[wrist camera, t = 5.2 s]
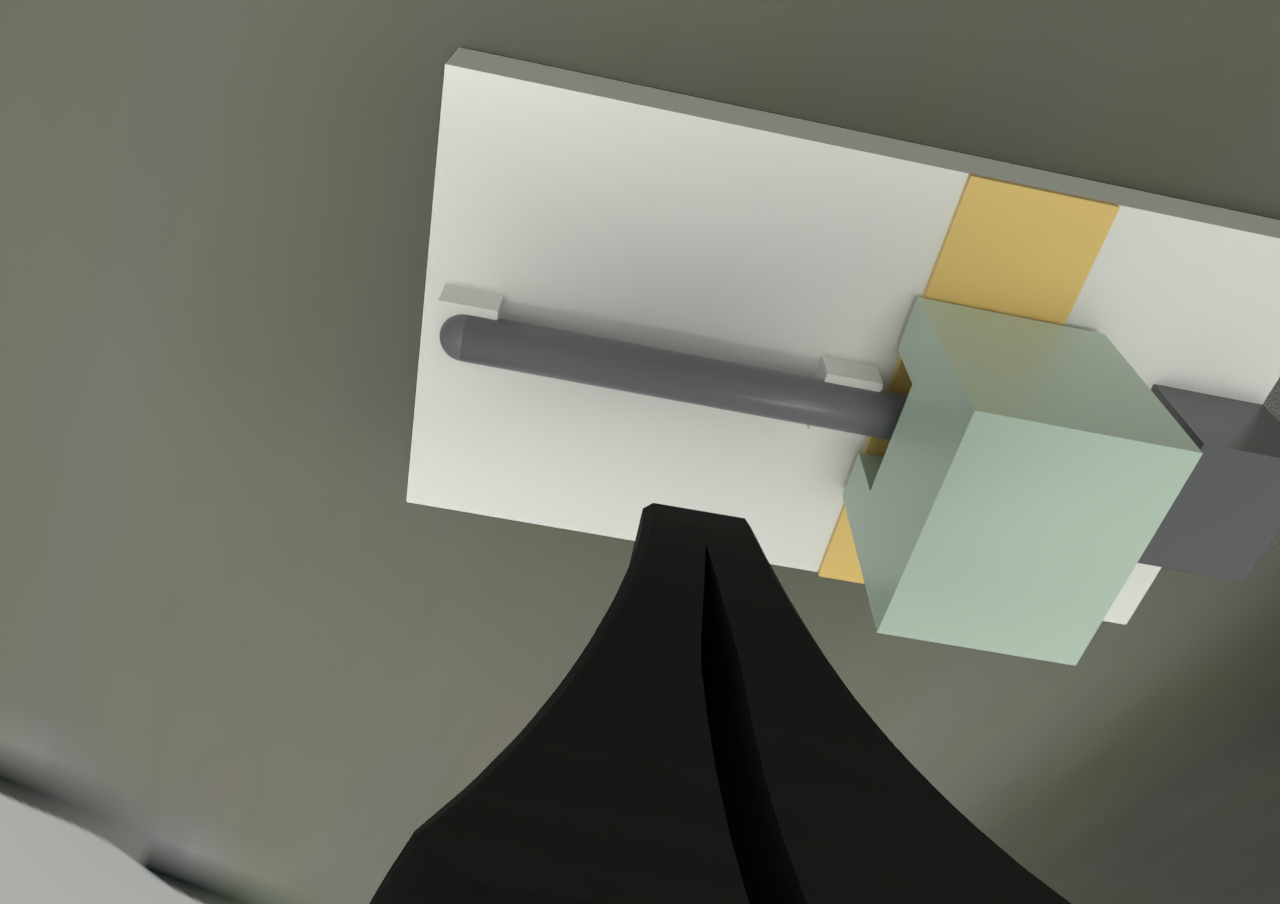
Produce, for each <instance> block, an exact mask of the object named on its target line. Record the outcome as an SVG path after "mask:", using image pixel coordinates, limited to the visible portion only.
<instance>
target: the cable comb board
mask: <svg viewBox="0 0 1280 904" xmlns="http://www.w3.org/2000/svg"><path fill="white" fill-rule="evenodd" d="M917 297H920V298H925V299H930V300H935V301H941V302H946V303H951V304H956V305H961V306H966V307H971V308H976V309H981V310H986V311H991V312H996V313H1001V314H1007V315H1012V316H1017V317H1022V318H1027V319H1032V320H1037V321H1042V322H1047V323H1052V324H1057V325H1062V326H1067V327H1072V328H1078V329H1083V330H1088V331H1093V332H1098V333H1103V334H1105V335H1106V336H1107V337H1108V339H1109V340H1110V341H1111V342H1112V343H1113V345H1114V346H1115V347H1116V348H1117V349H1118V351H1119V352H1120V353H1121V354H1122V356H1123V357H1124V358H1125V359H1126V360H1127V362H1128V363H1129V364H1130V365H1131V366H1132V368H1133V369H1134V370H1135V371H1136V373H1137V374H1138V375H1139V376H1140V377H1141V379H1142V380H1143V381H1144V382H1145V383H1146V385H1147V386H1148V387H1149V388H1150V390H1151V391H1152V392H1153V393H1154V394H1155V396H1156V397H1157V398H1158V399H1159V401H1160V402H1161V403H1162V404H1163V405H1164V407H1165V408H1166V409H1167V410H1168V411H1169V413H1170V414H1171V415H1172V416H1173V418H1174V419H1175V420H1176V421H1177V422H1178V424H1179V425H1180V426H1181V427H1182V428H1183V430H1184V431H1185V432H1186V433H1187V435H1188V436H1189V437H1190V438H1191V439H1192V441H1193V442H1194V443H1195V444H1196V445H1197V447H1198V448H1199V449H1200V450H1201V452H1202V453H1203V454H1202V456H1201V458H1200V459H1199V461H1198V463H1197V464H1196V466H1195V468H1194V469H1193V471H1192V473H1191V474H1190V476H1189V478H1188V479H1187V481H1186V483H1185V484H1184V486H1183V488H1182V489H1181V491H1180V493H1179V494H1178V496H1177V498H1176V499H1175V501H1174V503H1173V504H1172V506H1171V508H1170V509H1169V511H1168V513H1167V514H1166V516H1165V518H1164V519H1163V521H1162V523H1161V524H1160V526H1159V528H1158V529H1157V531H1156V533H1155V534H1154V536H1153V538H1152V539H1151V541H1150V543H1149V544H1148V546H1147V548H1146V549H1145V551H1144V553H1143V554H1142V556H1141V558H1140V559H1139V561H1138V562H1137V564H1136V566H1135V567H1134V569H1133V571H1132V572H1131V574H1130V576H1129V577H1128V579H1127V581H1126V582H1125V584H1124V586H1123V587H1122V589H1121V591H1120V592H1119V594H1118V596H1117V597H1116V599H1115V601H1114V602H1113V604H1112V606H1111V607H1110V609H1109V611H1108V612H1107V614H1106V616H1105V617H1104V619H1103V621H1107V622H1113V623H1119V624H1125V625H1126V624H1127V622H1128V621H1129V619H1130V618H1131V616H1132V614H1133V613H1134V611H1135V610H1136V608H1137V606H1138V605H1139V603H1140V601H1141V600H1142V598H1143V597H1144V595H1145V593H1146V592H1147V590H1148V589H1149V587H1150V585H1151V584H1152V582H1153V580H1154V579H1155V577H1156V576H1157V574H1158V572H1159V571H1160V569H1161V568H1162V567H1164V568H1169V569H1175V570H1181V571H1186V572H1192V573H1198V574H1203V575H1209V576H1215V577H1220V578H1226V579H1232V580H1237V581H1243V582H1244V581H1245V580H1246V578H1247V577H1248V575H1249V574H1250V573H1251V571H1252V570H1253V568H1254V567H1255V565H1256V564H1257V562H1258V561H1259V559H1260V558H1261V556H1262V555H1263V554H1264V552H1265V551H1266V549H1267V548H1268V546H1269V545H1270V543H1271V542H1272V540H1273V539H1274V537H1275V536H1276V535H1277V533H1278V532H1279V530H1280V422H1279V421H1278V420H1277V419H1276V418H1275V417H1274V416H1273V415H1272V414H1271V413H1270V412H1269V411H1268V410H1267V409H1266V408H1265V407H1264V406H1263V405H1262V404H1263V403H1264V401H1265V400H1266V398H1267V396H1268V395H1269V393H1270V392H1271V390H1272V388H1273V387H1274V385H1275V383H1276V382H1277V380H1278V379H1279V377H1280V220H1277V219H1272V218H1267V217H1262V216H1258V215H1253V214H1248V213H1243V212H1239V211H1234V210H1229V209H1224V208H1220V207H1215V206H1210V205H1205V204H1201V203H1196V202H1191V201H1186V200H1182V199H1177V198H1172V197H1168V196H1163V195H1158V194H1153V193H1149V192H1144V191H1139V190H1134V189H1130V188H1125V187H1120V186H1115V185H1111V184H1106V183H1101V182H1096V181H1092V180H1087V179H1082V178H1077V177H1073V176H1068V175H1063V174H1058V173H1054V172H1049V171H1044V170H1039V169H1035V168H1030V167H1025V166H1020V165H1016V164H1011V163H1006V162H1002V161H997V160H992V159H987V158H983V157H978V156H973V155H968V154H964V153H959V152H954V151H949V150H945V149H940V148H935V147H930V146H926V145H921V144H916V143H911V142H907V141H902V140H897V139H892V138H888V137H883V136H878V135H873V134H869V133H864V132H859V131H854V130H850V129H845V128H840V127H836V126H831V125H826V124H821V123H817V122H812V121H807V120H802V119H798V118H793V117H788V116H783V115H779V114H774V113H769V112H764V111H760V110H755V109H750V108H745V107H741V106H736V105H731V104H726V103H722V102H717V101H712V100H707V99H703V98H698V97H693V96H688V95H684V94H679V93H674V92H670V91H665V90H660V89H655V88H651V87H646V86H641V85H636V84H632V83H627V82H622V81H617V80H613V79H608V78H603V77H598V76H594V75H589V74H584V73H579V72H575V71H570V70H565V69H560V68H556V67H551V66H546V65H541V64H537V63H532V62H527V61H522V60H518V59H513V58H508V57H504V56H499V55H494V54H489V53H485V52H480V51H475V50H470V49H466V48H461V47H459V48H458V49H457V51H456V52H455V53H454V54H453V55H452V56H451V58H450V59H449V60H448V61H447V62H446V64H445V70H444V82H443V93H442V104H441V116H440V127H439V138H438V150H437V161H436V172H435V184H434V195H433V206H432V218H431V229H430V240H429V252H428V263H427V274H426V286H425V297H424V308H423V319H422V331H421V342H420V353H419V365H418V376H417V387H416V399H415V410H414V421H413V433H412V444H411V455H410V467H409V478H408V489H407V501H406V502H410V503H416V504H422V505H428V506H434V507H439V508H445V509H451V510H457V511H463V512H469V513H475V514H480V515H486V516H492V517H498V518H504V519H510V520H516V521H521V522H527V523H533V524H539V525H545V526H551V527H557V528H562V529H568V530H574V531H580V532H586V533H592V534H598V535H603V536H609V537H615V538H621V539H627V540H633V541H635V540H636V535H637V531H638V527H639V523H640V518H641V514H642V510H643V508H645V507H647V506H648V505H650V504H652V503H657V504H663V505H669V506H675V507H681V508H687V509H692V510H698V511H704V512H710V513H716V514H722V515H728V516H734V517H740V518H745V519H746V521H747V522H748V524H749V525H750V527H751V529H752V531H753V533H754V534H755V536H756V538H757V540H758V542H759V544H760V546H761V548H762V550H763V552H764V554H765V556H766V558H767V560H768V561H769V563H770V564H773V565H779V566H785V567H791V568H797V569H803V570H808V571H814V572H818V576H821V577H827V578H833V579H839V580H845V581H850V582H856V583H862V584H865V583H864V579H863V575H862V572H861V568H860V564H859V560H858V556H857V552H856V548H855V544H854V540H853V536H852V532H851V528H850V524H849V520H848V516H847V512H846V508H845V504H844V500H843V496H842V495H843V493H844V490H845V487H846V485H847V482H848V479H849V477H850V474H851V471H852V469H853V466H854V463H855V461H856V458H857V456H858V453H865V454H870V455H876V456H881V457H884V455H885V453H886V450H887V448H888V445H889V442H890V440H891V437H892V435H893V432H894V430H895V427H896V425H897V422H898V420H899V417H900V415H901V412H902V410H903V407H904V405H905V402H906V399H907V397H908V394H909V392H910V389H911V387H912V382H911V380H910V377H909V375H908V373H907V370H906V368H905V366H904V363H903V361H902V358H901V356H900V354H899V351H898V347H899V344H900V342H901V339H902V336H903V334H904V331H905V328H906V326H907V323H908V320H909V318H910V315H911V313H912V310H913V307H914V305H915V302H916V299H917Z"/></svg>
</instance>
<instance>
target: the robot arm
mask: <svg viewBox="0 0 1280 904" xmlns="http://www.w3.org/2000/svg"><path fill="white" fill-rule="evenodd" d="M370 904H1071V903H1070V902H1068V901H1067V900H1066V899H1064V898H1063V897H1062V896H1060V895H1059V894H1058V893H1056V892H1055V891H1054V890H1052V889H1051V888H1050V887H1048V886H1047V885H1046V884H1044V883H1043V882H1042V881H1041V880H1039V879H1038V878H1037V877H1035V876H1034V875H1033V874H1031V873H1030V872H1029V871H1027V870H1026V869H1025V868H1024V867H1022V866H1021V865H1020V864H1019V863H1017V862H1016V861H1015V860H1014V859H1013V858H1012V857H1010V856H1009V855H1008V854H1007V853H1006V852H1005V851H1003V850H1002V849H1001V848H1000V847H999V846H998V845H996V844H995V843H994V842H993V841H992V840H991V839H990V838H988V837H987V836H986V835H985V834H984V833H983V832H981V831H980V830H979V829H978V828H977V827H976V826H975V825H973V824H972V823H971V822H970V821H969V820H968V819H967V818H966V817H965V816H964V815H963V814H962V813H960V812H959V811H958V810H957V809H956V808H955V807H954V806H953V805H952V804H951V803H950V802H949V801H948V800H947V799H946V798H945V797H944V796H943V795H942V794H941V793H940V792H939V791H938V790H937V789H936V788H935V787H934V786H933V785H932V784H931V783H930V782H929V781H928V780H927V779H926V778H925V777H924V776H923V775H922V774H921V773H920V772H919V771H918V770H917V769H916V768H915V767H914V766H913V765H912V764H911V763H910V762H909V761H908V760H907V759H906V758H905V756H904V755H903V754H902V753H901V752H900V751H899V750H898V749H897V748H896V747H895V746H894V744H893V743H892V742H891V741H890V740H889V739H888V738H887V736H886V735H885V734H884V733H883V732H882V730H881V729H880V728H879V727H878V726H877V724H876V723H875V722H874V721H873V720H872V718H871V717H870V716H869V715H868V714H867V713H866V711H865V710H864V709H863V708H862V707H861V705H860V704H859V703H858V702H857V700H856V699H855V698H854V696H853V695H852V694H851V692H850V691H849V690H848V688H847V687H846V686H845V684H844V683H843V681H842V680H841V679H840V677H839V676H838V674H837V673H836V671H835V670H834V669H833V667H832V666H831V664H830V663H829V661H828V660H827V659H826V657H825V656H824V654H823V652H822V651H821V649H820V648H819V646H818V645H817V643H816V642H815V640H814V639H813V637H812V636H811V634H810V632H809V631H808V629H807V627H806V626H805V624H804V622H803V621H802V619H801V618H800V616H799V614H798V613H797V611H796V609H795V608H794V606H793V605H792V603H791V601H790V599H789V598H788V596H787V594H786V592H785V591H784V589H783V587H782V585H781V584H780V582H779V580H778V578H777V576H776V574H775V573H774V571H773V569H772V567H771V565H770V563H769V561H768V560H767V558H766V556H765V554H764V552H763V550H762V548H761V546H760V544H759V542H758V540H757V538H756V536H755V534H754V533H753V531H752V529H751V527H750V525H749V524H748V522H747V521H746V519H745V518H740V517H734V516H728V515H722V514H716V513H710V512H704V511H698V510H692V509H687V508H681V507H675V506H669V505H663V504H657V503H652V504H650V505H648V506H647V507H645V508H643V510H642V514H641V518H640V523H639V527H638V531H637V535H636V540H635V544H634V548H633V552H632V556H631V561H630V565H629V568H628V570H627V572H626V575H625V577H624V579H623V581H622V583H621V585H620V588H619V590H618V592H617V594H616V596H615V598H614V600H613V602H612V604H611V606H610V607H609V609H608V611H607V613H606V614H605V616H604V618H603V620H602V621H601V623H600V625H599V626H598V628H597V630H596V632H595V633H594V635H593V637H592V638H591V640H590V642H589V643H588V645H587V646H586V648H585V649H584V651H583V652H582V654H581V655H580V657H579V658H578V660H577V661H576V663H575V664H574V666H573V667H572V669H571V670H570V671H569V673H568V674H567V675H566V677H565V678H564V680H563V681H562V682H561V684H560V685H559V686H558V688H557V689H556V690H555V692H554V693H553V694H552V695H551V697H550V698H549V699H548V700H547V701H546V703H545V704H544V705H543V706H542V708H541V709H540V710H539V711H538V713H537V714H536V715H535V716H534V717H533V719H532V720H531V721H530V722H529V723H528V724H527V726H526V727H525V728H524V729H523V730H522V731H521V732H520V734H519V735H518V736H517V737H516V738H515V739H514V740H513V741H512V742H511V743H510V744H509V745H508V746H507V747H506V748H505V749H504V750H503V751H502V752H501V753H500V754H499V755H498V756H497V757H496V758H495V759H494V760H493V761H492V762H491V763H490V764H489V765H488V766H487V767H486V769H485V770H484V771H483V772H482V773H481V774H480V775H479V776H478V777H477V778H476V779H475V780H473V781H472V782H471V783H470V784H469V785H468V786H467V787H466V788H465V789H464V790H463V791H461V792H460V793H459V794H458V795H457V796H456V797H454V798H453V799H452V800H451V801H450V802H448V803H447V804H446V805H445V806H444V807H443V808H441V809H440V810H439V811H438V812H437V813H436V814H434V815H433V816H432V817H431V818H430V819H428V820H427V821H426V822H425V823H424V824H423V825H421V826H420V827H419V828H418V829H417V830H415V832H414V833H413V835H412V836H411V838H410V839H409V841H408V842H407V844H406V845H405V847H404V849H403V850H402V852H401V853H400V855H399V856H398V858H397V859H396V861H395V862H394V864H393V865H392V867H391V868H390V870H389V872H388V873H387V875H386V877H385V878H384V880H383V882H382V883H381V885H380V886H379V888H378V890H377V891H376V893H375V895H374V897H373V898H372V900H371V902H370Z"/></svg>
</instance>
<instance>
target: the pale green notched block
mask: <svg viewBox="0 0 1280 904" xmlns="http://www.w3.org/2000/svg"><path fill="white" fill-rule="evenodd" d="M898 351H899V354H900V356H901V358H902V361H903V363H904V366H905V368H906V370H907V373H908V375H909V377H910V380H911V382H912V387H911V389H910V392H909V394H908V397H907V399H906V402H905V405H904V407H903V410H902V412H901V415H900V417H899V420H898V422H897V425H896V427H895V430H894V432H893V435H892V437H891V440H890V442H889V445H888V448H887V450H886V453H885V455H884V457H881V456H876V455H870V454H865V453H858V456H857V458H856V461H855V463H854V466H853V469H852V471H851V474H850V477H849V479H848V482H847V485H846V487H845V490H844V493H843V495H842V496H843V500H844V504H845V508H846V512H847V516H848V520H849V524H850V528H851V532H852V536H853V540H854V544H855V548H856V552H857V556H858V560H859V564H860V568H861V572H862V575H863V579H864V583H865V587H866V591H867V595H868V599H869V603H870V607H871V611H872V615H873V619H874V623H875V627H876V631H877V633H882V634H888V635H894V636H900V637H906V638H912V639H918V640H924V641H930V642H936V643H942V644H948V645H954V646H960V647H966V648H972V649H978V650H984V651H990V652H996V653H1002V654H1008V655H1014V656H1020V657H1026V658H1032V659H1038V660H1044V661H1050V662H1056V663H1062V664H1068V665H1074V666H1076V664H1077V662H1078V661H1079V659H1080V657H1081V656H1082V654H1083V652H1084V651H1085V649H1086V647H1087V646H1088V644H1089V642H1090V641H1091V639H1092V637H1093V636H1094V634H1095V632H1096V631H1097V629H1098V627H1099V626H1100V624H1101V622H1102V621H1103V619H1104V617H1105V616H1106V614H1107V612H1108V611H1109V609H1110V607H1111V606H1112V604H1113V602H1114V601H1115V599H1116V597H1117V596H1118V594H1119V592H1120V591H1121V589H1122V587H1123V586H1124V584H1125V582H1126V581H1127V579H1128V577H1129V576H1130V574H1131V572H1132V571H1133V569H1134V567H1135V566H1136V564H1137V562H1138V561H1139V559H1140V558H1141V556H1142V554H1143V553H1144V551H1145V549H1146V548H1147V546H1148V544H1149V543H1150V541H1151V539H1152V538H1153V536H1154V534H1155V533H1156V531H1157V529H1158V528H1159V526H1160V524H1161V523H1162V521H1163V519H1164V518H1165V516H1166V514H1167V513H1168V511H1169V509H1170V508H1171V506H1172V504H1173V503H1174V501H1175V499H1176V498H1177V496H1178V494H1179V493H1180V491H1181V489H1182V488H1183V486H1184V484H1185V483H1186V481H1187V479H1188V478H1189V476H1190V474H1191V473H1192V471H1193V469H1194V468H1195V466H1196V464H1197V463H1198V461H1199V459H1200V458H1201V456H1202V454H1203V453H1202V452H1201V450H1200V449H1199V448H1198V447H1197V445H1196V444H1195V443H1194V442H1193V441H1192V439H1191V438H1190V437H1189V436H1188V435H1187V433H1186V432H1185V431H1184V430H1183V428H1182V427H1181V426H1180V425H1179V424H1178V422H1177V421H1176V420H1175V419H1174V418H1173V416H1172V415H1171V414H1170V413H1169V411H1168V410H1167V409H1166V408H1165V407H1164V405H1163V404H1162V403H1161V402H1160V401H1159V399H1158V398H1157V397H1156V396H1155V394H1154V393H1153V392H1152V391H1151V390H1150V388H1149V387H1148V386H1147V385H1146V383H1145V382H1144V381H1143V380H1142V379H1141V377H1140V376H1139V375H1138V374H1137V373H1136V371H1135V370H1134V369H1133V368H1132V366H1131V365H1130V364H1129V363H1128V362H1127V360H1126V359H1125V358H1124V357H1123V356H1122V354H1121V353H1120V352H1119V351H1118V349H1117V348H1116V347H1115V346H1114V345H1113V343H1112V342H1111V341H1110V340H1109V339H1108V337H1107V336H1106V335H1105V334H1103V333H1098V332H1093V331H1088V330H1083V329H1078V328H1072V327H1067V326H1062V325H1057V324H1052V323H1047V322H1042V321H1037V320H1032V319H1027V318H1022V317H1017V316H1012V315H1007V314H1001V313H996V312H991V311H986V310H981V309H976V308H971V307H966V306H961V305H956V304H951V303H946V302H941V301H935V300H930V299H925V298H920V297H917V299H916V302H915V305H914V307H913V310H912V313H911V315H910V318H909V320H908V323H907V326H906V328H905V331H904V334H903V336H902V339H901V342H900V344H899V347H898Z"/></svg>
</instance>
